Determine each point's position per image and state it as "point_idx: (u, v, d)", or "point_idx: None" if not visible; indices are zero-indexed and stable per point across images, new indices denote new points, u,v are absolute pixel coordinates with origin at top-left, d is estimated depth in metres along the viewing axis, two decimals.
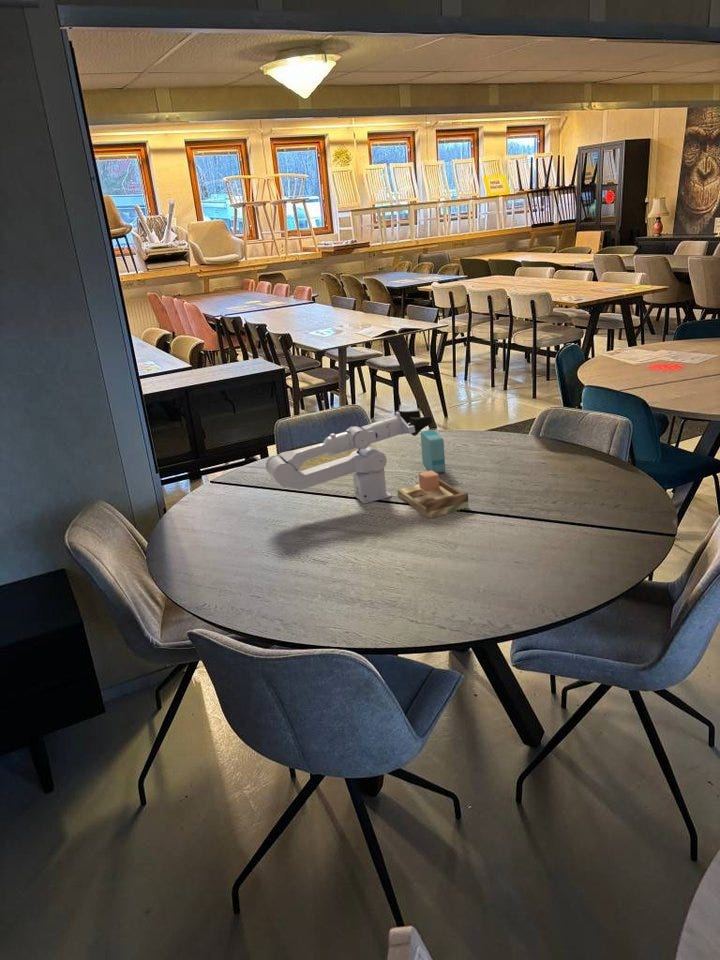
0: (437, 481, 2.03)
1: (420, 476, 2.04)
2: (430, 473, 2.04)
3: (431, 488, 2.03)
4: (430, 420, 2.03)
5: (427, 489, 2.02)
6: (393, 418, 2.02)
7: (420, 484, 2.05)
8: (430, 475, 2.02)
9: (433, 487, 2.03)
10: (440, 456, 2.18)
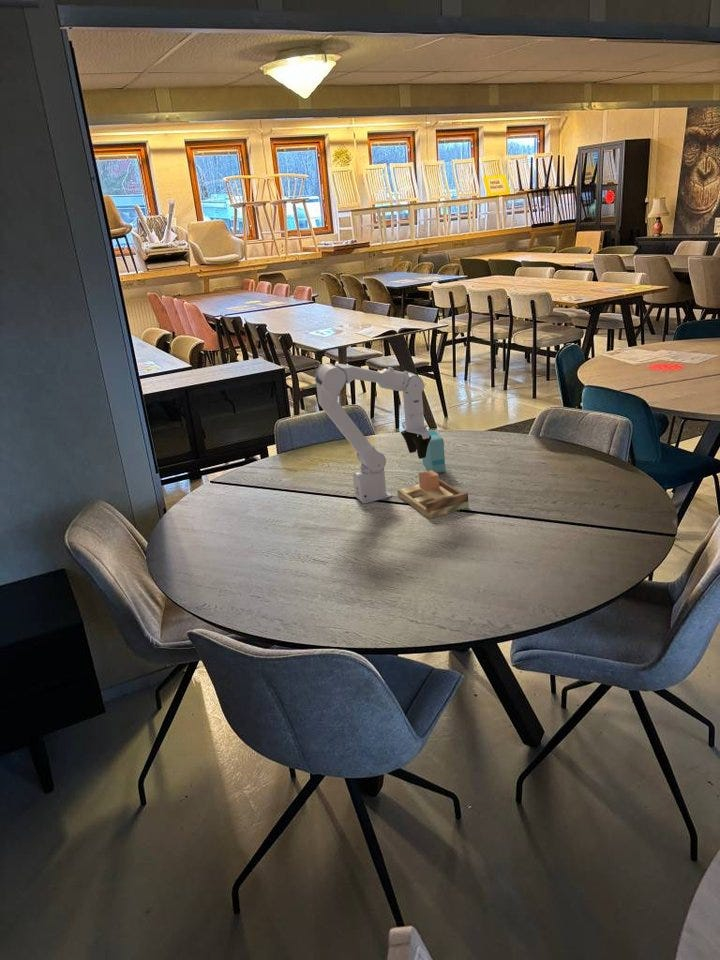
0: (437, 481, 2.03)
1: (420, 476, 2.04)
2: (430, 473, 2.04)
3: (431, 488, 2.03)
4: (422, 456, 2.05)
5: (427, 489, 2.02)
6: None
7: (420, 484, 2.05)
8: (430, 475, 2.02)
9: (433, 487, 2.03)
10: (440, 456, 2.18)
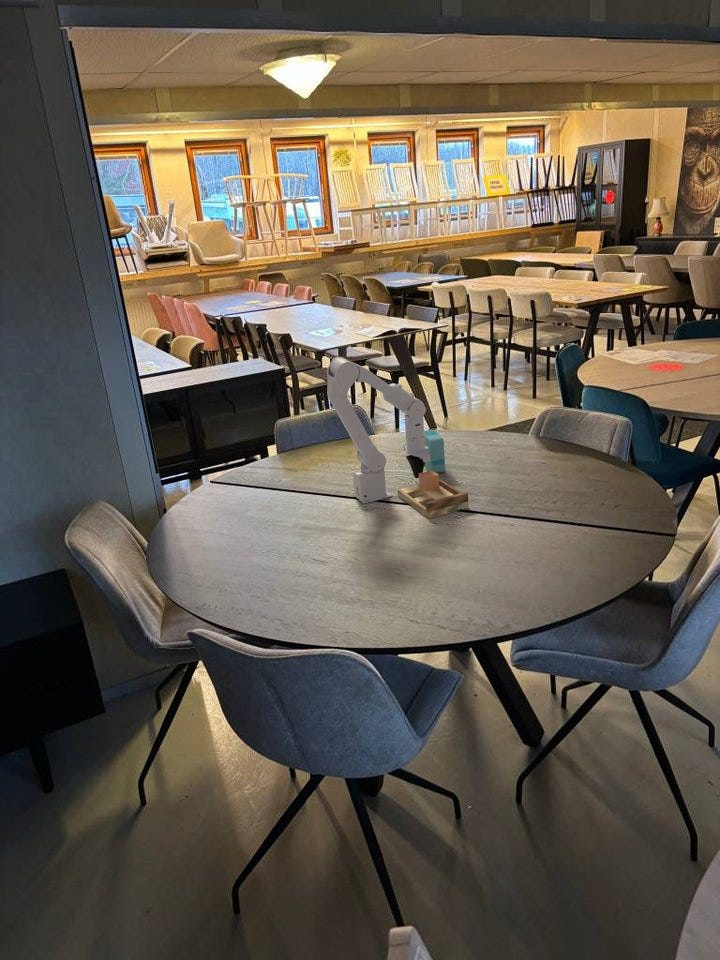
0: (437, 481, 2.03)
1: (420, 476, 2.04)
2: (430, 473, 2.04)
3: (431, 488, 2.03)
4: (418, 476, 2.10)
5: (427, 489, 2.02)
6: None
7: (420, 484, 2.05)
8: (430, 475, 2.02)
9: (433, 487, 2.03)
10: (440, 456, 2.18)
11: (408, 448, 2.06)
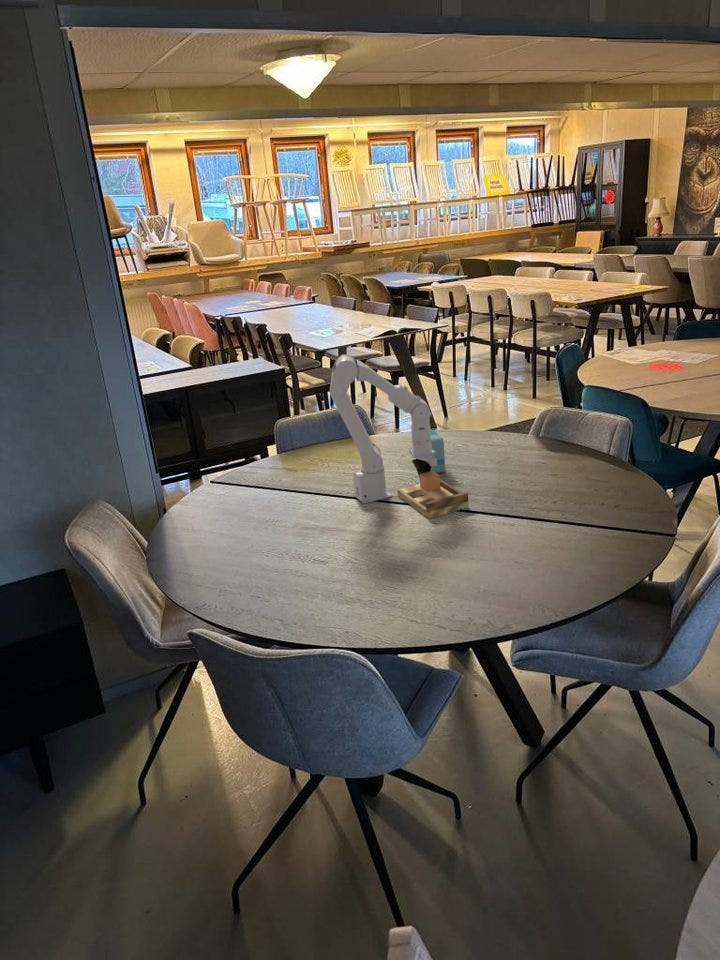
0: (438, 481, 2.02)
1: (421, 476, 2.03)
2: (430, 474, 2.03)
3: (432, 489, 2.02)
4: None
5: (428, 490, 2.02)
6: None
7: (421, 485, 2.05)
8: (431, 475, 2.02)
9: (434, 487, 2.02)
10: (440, 456, 2.18)
11: (414, 452, 2.02)
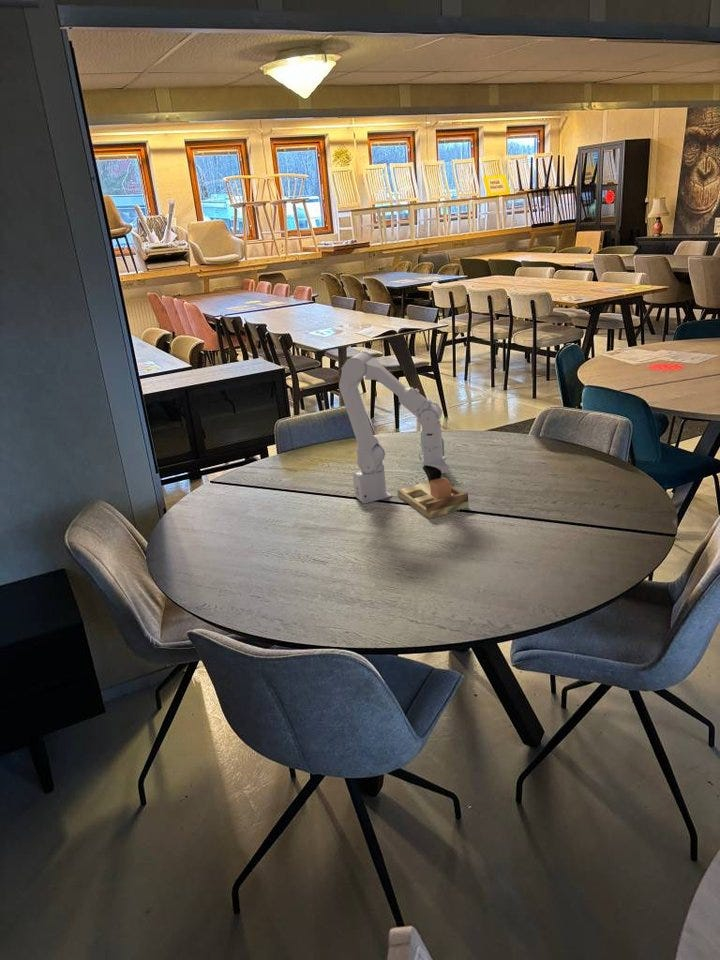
0: (449, 488, 1.96)
1: (432, 483, 1.97)
2: (441, 480, 1.97)
3: (443, 496, 1.96)
4: None
5: (439, 497, 1.96)
6: None
7: (431, 492, 1.99)
8: (442, 482, 1.96)
9: (445, 495, 1.97)
10: None
11: (425, 458, 1.96)
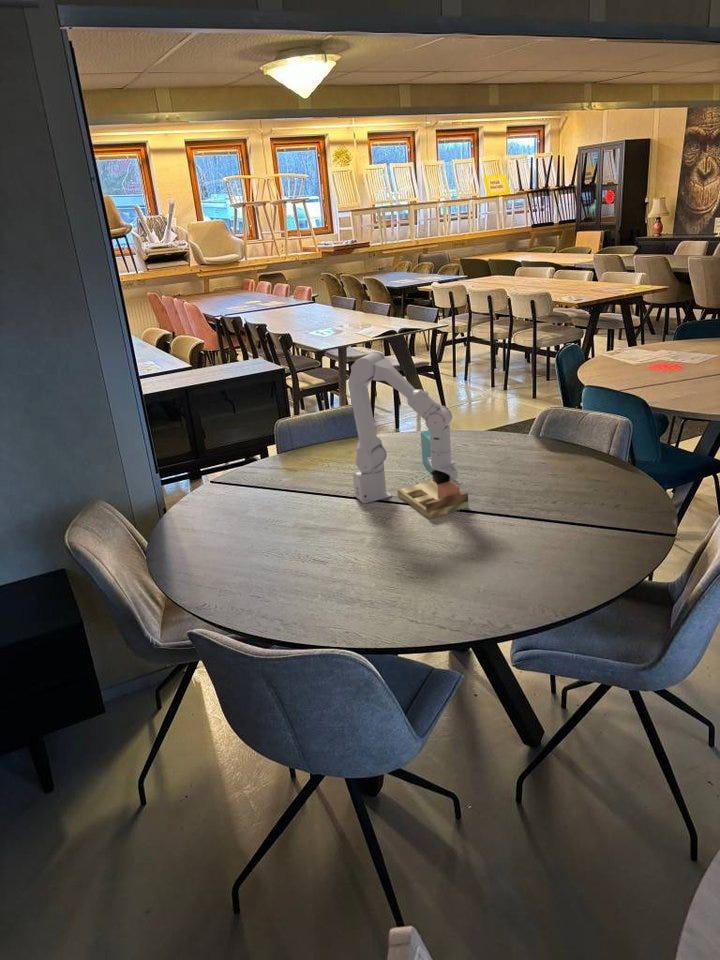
0: (457, 493, 1.93)
1: (439, 487, 1.93)
2: (449, 484, 1.93)
3: None
4: None
5: None
6: None
7: (439, 496, 1.95)
8: (451, 487, 1.92)
9: None
10: None
11: (433, 463, 1.92)
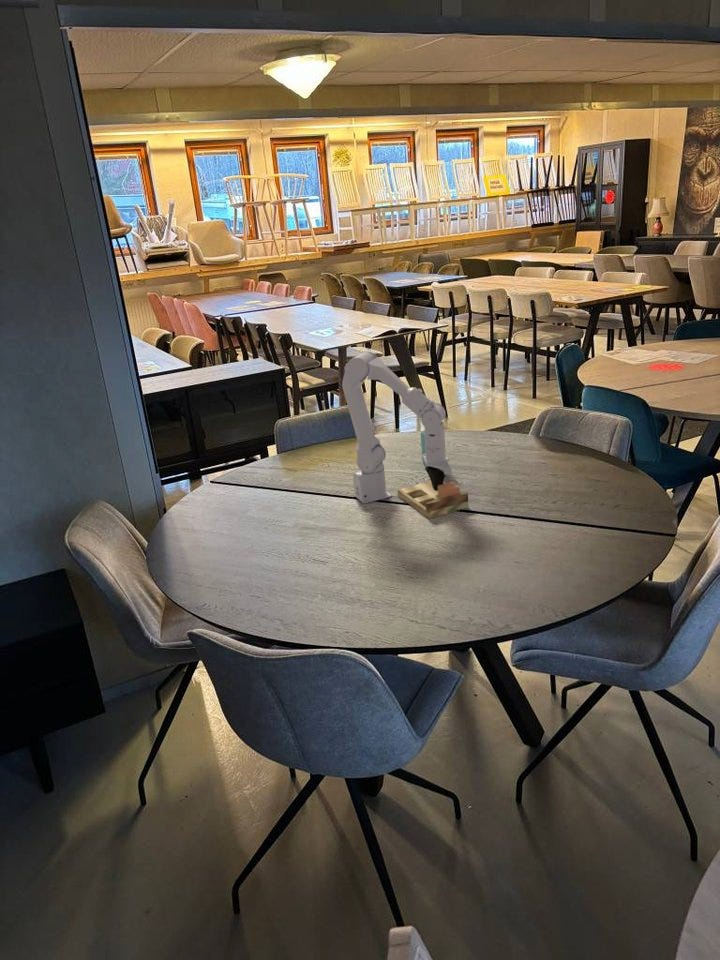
0: (458, 493, 1.93)
1: (439, 488, 1.93)
2: (449, 485, 1.93)
3: None
4: None
5: None
6: None
7: (439, 497, 1.95)
8: (450, 487, 1.92)
9: None
10: None
11: (428, 459, 1.95)
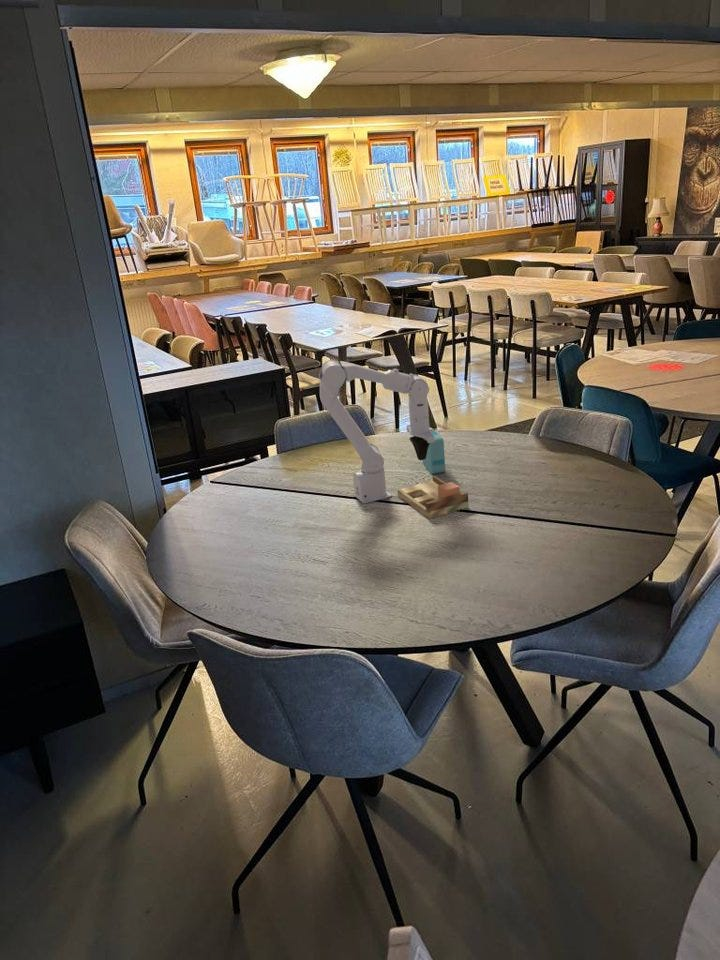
0: (458, 493, 1.93)
1: (439, 488, 1.93)
2: (449, 485, 1.93)
3: None
4: (422, 458, 2.05)
5: None
6: None
7: (439, 497, 1.95)
8: (450, 487, 1.92)
9: None
10: (440, 456, 2.18)
11: (412, 429, 2.01)
